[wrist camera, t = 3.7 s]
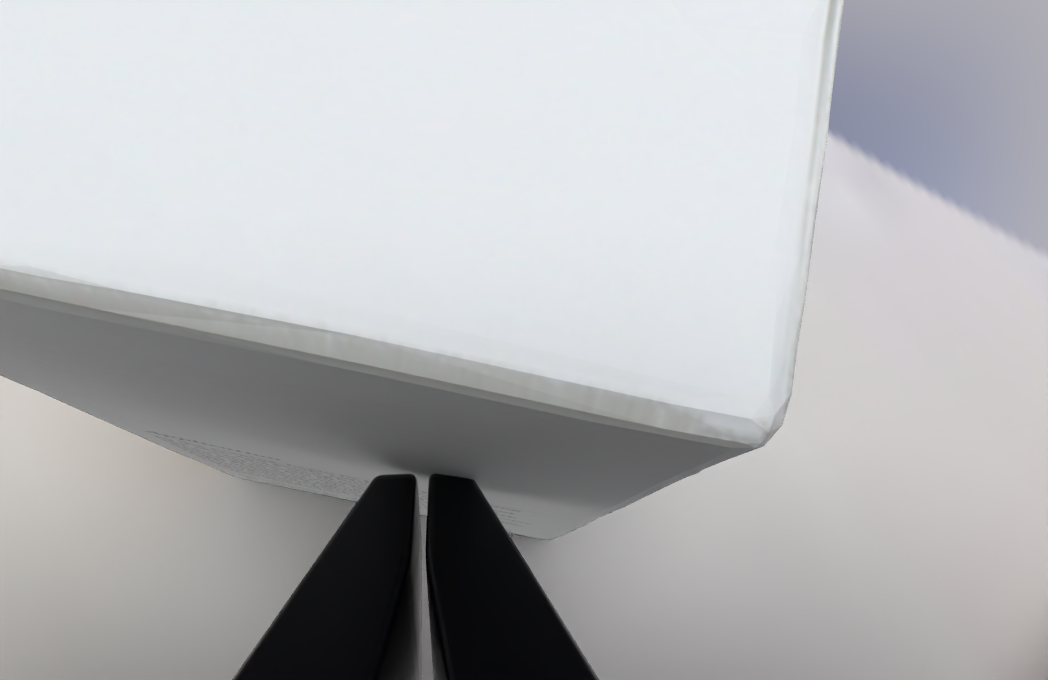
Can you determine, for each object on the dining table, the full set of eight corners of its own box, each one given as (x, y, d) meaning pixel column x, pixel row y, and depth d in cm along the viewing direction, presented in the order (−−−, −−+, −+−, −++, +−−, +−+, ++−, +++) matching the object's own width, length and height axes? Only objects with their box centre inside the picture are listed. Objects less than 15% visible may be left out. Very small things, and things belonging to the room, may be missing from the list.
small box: (328, 101, 19) (74, -831, 6) (625, 163, 19) (939, -641, 7) (221, 483, 17) (-472, 197, 4) (556, 551, 17) (827, 456, 4)
